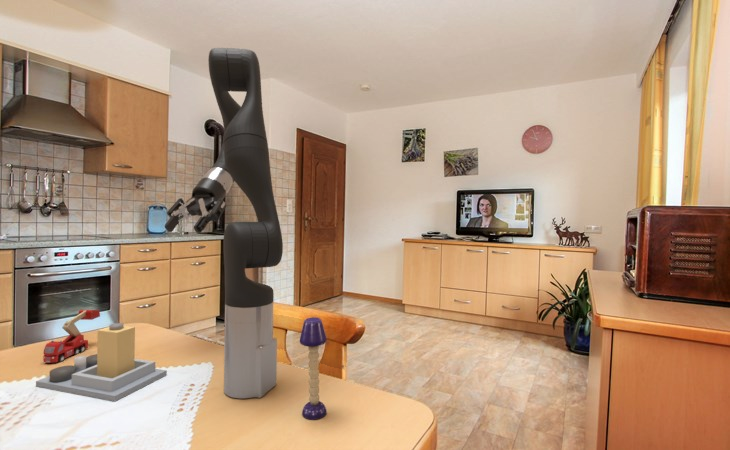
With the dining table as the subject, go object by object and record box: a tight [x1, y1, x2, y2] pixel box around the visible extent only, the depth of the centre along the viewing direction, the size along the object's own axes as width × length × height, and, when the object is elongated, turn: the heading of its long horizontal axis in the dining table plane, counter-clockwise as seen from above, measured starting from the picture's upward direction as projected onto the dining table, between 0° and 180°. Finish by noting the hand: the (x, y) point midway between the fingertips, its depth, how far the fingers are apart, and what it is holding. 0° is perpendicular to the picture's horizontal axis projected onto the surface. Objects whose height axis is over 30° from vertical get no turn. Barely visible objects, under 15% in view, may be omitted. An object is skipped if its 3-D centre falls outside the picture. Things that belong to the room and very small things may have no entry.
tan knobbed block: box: [96, 322, 136, 379], centre depth 75 cm, size 5×4×11 cm
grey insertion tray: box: [35, 353, 168, 402], centre depth 76 cm, size 20×12×4 cm, turn 74°
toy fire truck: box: [42, 309, 101, 364], centre depth 90 cm, size 3×14×10 cm, turn 179°
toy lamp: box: [299, 316, 327, 421], centre depth 64 cm, size 5×5×17 cm
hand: (181, 230), depth 90 cm, fingers open, 8 cm apart
